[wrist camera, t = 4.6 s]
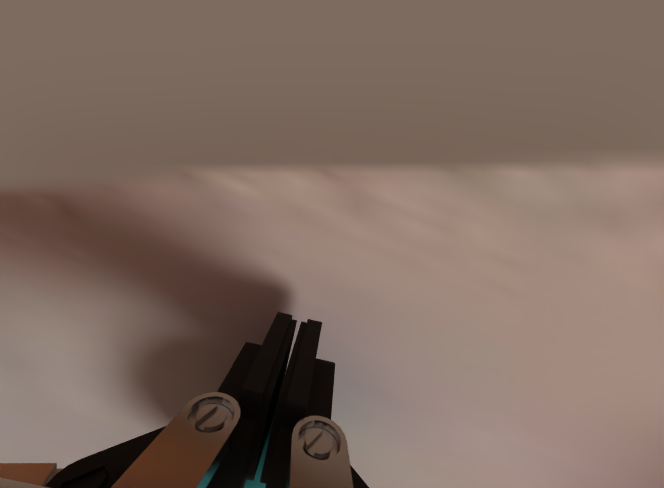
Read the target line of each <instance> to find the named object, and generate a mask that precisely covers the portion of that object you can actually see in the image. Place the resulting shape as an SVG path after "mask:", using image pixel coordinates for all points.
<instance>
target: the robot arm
mask: <svg viewBox="0 0 664 488" xmlns="http://www.w3.org/2000/svg"><path fill="white" fill-rule="evenodd" d="M296 323H297V320H293V319H292V315H289V314H284V313H280V312H278V313H277V315H276V317H275V319H274V321H273V323H272V325H271V327H270V329H269V332H268V334H267V336H266V338H265V340H264V342H263V344H262V345H258V344H253V343H249V342H246V343H245V345H244V346H243V348H242V350H241V352H240V353H239V355H238V357H237V359H236V360H235V362H234V364H233V366H232V367H231V369H230V371H229V373H228V374H227V376H226V378H225V379H224V381H223V383H222V385H221V386H220V388H219V390H218V392H209V393H205V394H201V395H199V396H197V397H195V398H193V399H192V400H191V401H189V402H188V403H187V404H186V405H185V406H184V407H183V408H182V410H181V411H180V412H179V413H178V414H177V415H176V416H175V417H174V418H173V420H172V421H171V422H170V423H169V424H168V425H167V426H165V427H163V428H160V429H157V430H155V431H152V432H150V433H147V434H144V435H142V436H139V437H137V438H134V439H132V440H129V441H126V442H124V443H121V444H119V445H116V446H113V447H111V448H108V449H106V450H103V451H101V452H98V453H95V454H93V455H90V456H88V457H85V458H83V459H80V460H78V461H76V462H74V463H72V464H70V465H68V466H67V467H65V468H64V469H57V463H0V488H244V486H245V483H246V480H247V479H248V480H252V481H253V480H254V478H255V474H256V471H257V468H258V465H259V461H260V458H261V455H262V451H263V448H264V445H265V442H266V438H267V435H268V432H269V428H270V425H271V422H272V418H273V415H274V412H275V415H274V419H273V424H272V428H271V433H270V437H269V442H268V446H267V451H266V455H265V460H264V464H263V469H262V473H261V478H260V482H261V483H265V484H266V487H265V488H369V487H368V486H367V485H366V483H365V482H364V481H363V480H362V479H361V477H360V476H359V475H358V474H357V472H356V471H355V470H354V469H353V468H352V466H351V465H350V461H349V454H348V447H347V441H346V438H345V434H344V433H343V431H342V430H341V428H340V427H339V426H338V425H337V424H336V423H335V422H334V421H332V420H331V411H332V398H333V385H334V372H335V363H333V362H329V361H325V360H321V359H317V358H316V354H317V348H318V342H319V337H320V331H321V326H322V322H318V321H314V320H310V319H308V321H307V323H305V322H301V325H300V328H299V331H298V335H297V338H296V341H295V344H294V348H293V351H292V354H291V357H290V361H289V364H288V367H287V363H288V359H289V354H290V350H291V345H292V341H293V336H294V332H295V327H296ZM286 368H287V371H286ZM285 372H286V374H285ZM276 405H277V406H276ZM275 409H276V410H275Z"/></svg>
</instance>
